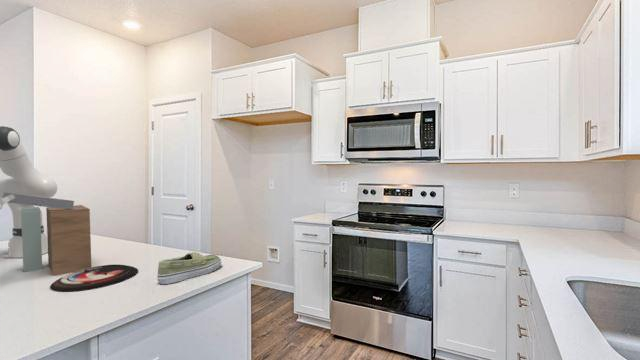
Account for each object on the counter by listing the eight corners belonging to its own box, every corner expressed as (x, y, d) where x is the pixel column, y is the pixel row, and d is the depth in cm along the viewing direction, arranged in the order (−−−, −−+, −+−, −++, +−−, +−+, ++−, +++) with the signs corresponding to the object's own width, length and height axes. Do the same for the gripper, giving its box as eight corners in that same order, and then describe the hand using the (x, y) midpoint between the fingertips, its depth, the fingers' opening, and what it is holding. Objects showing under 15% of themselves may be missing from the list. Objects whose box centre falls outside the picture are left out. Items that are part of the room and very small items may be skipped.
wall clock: (83, 303, 113) (154, 271, 142) (82, 290, 113) (153, 260, 141) (32, 293, 122) (108, 265, 150) (30, 281, 122) (107, 255, 150)
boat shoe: (227, 267, 145) (227, 247, 145) (169, 288, 120) (169, 263, 120) (211, 264, 150) (210, 244, 150) (152, 283, 125) (151, 260, 125)
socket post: (23, 268, 146) (20, 207, 145) (41, 265, 150) (38, 206, 149) (23, 272, 140) (21, 209, 139) (42, 269, 144) (40, 208, 143)
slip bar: (2, 201, 129) (4, 192, 129) (71, 209, 143) (73, 200, 143) (1, 201, 126) (3, 192, 126) (72, 209, 140) (74, 201, 141)
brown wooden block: (48, 264, 151) (46, 207, 150) (83, 259, 160) (81, 205, 159) (53, 275, 135) (50, 211, 134) (91, 268, 144) (89, 208, 143)
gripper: (-40, 212, 113) (7, 189, 121) (-34, 206, 128) (8, 187, 136) (-26, 226, 115) (20, 204, 123) (-22, 220, 130) (19, 200, 138)
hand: (13, 195), depth 130 cm, fingers closed on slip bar, 4 cm apart
